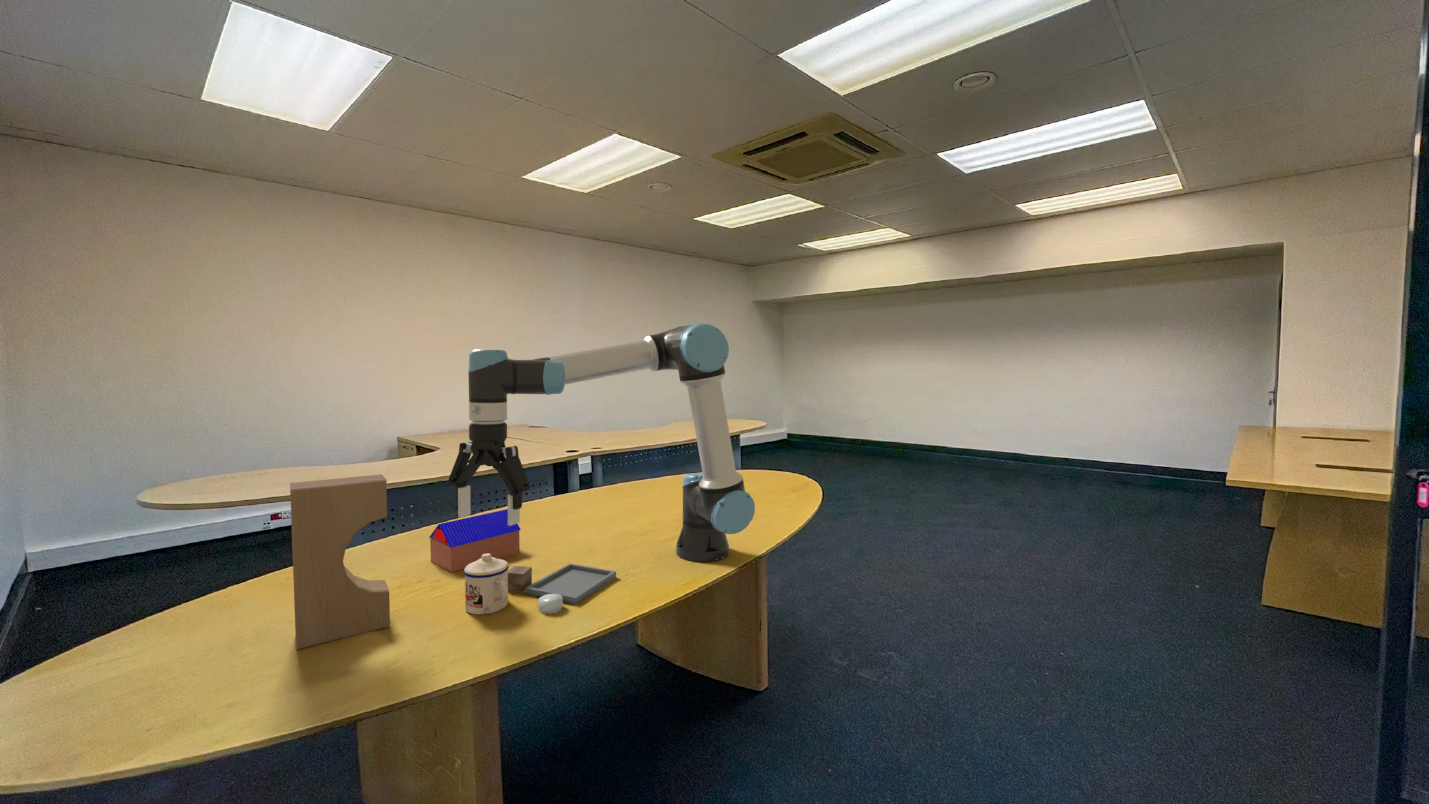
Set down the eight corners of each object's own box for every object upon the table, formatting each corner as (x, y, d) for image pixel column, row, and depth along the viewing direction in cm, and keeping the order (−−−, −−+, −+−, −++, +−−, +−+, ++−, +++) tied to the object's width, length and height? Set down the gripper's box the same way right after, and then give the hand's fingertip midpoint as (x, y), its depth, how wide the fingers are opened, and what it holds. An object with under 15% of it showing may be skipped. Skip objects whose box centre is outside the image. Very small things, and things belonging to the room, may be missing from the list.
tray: (616, 577, 135) (616, 571, 135) (575, 605, 120) (575, 598, 120) (569, 569, 140) (569, 563, 140) (524, 594, 125) (524, 587, 125)
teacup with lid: (456, 607, 117) (455, 555, 117) (494, 594, 125) (494, 544, 124) (486, 624, 110) (485, 568, 109) (525, 608, 117) (524, 556, 117)
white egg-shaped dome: (567, 606, 119) (567, 596, 119) (552, 616, 115) (552, 605, 114) (548, 602, 121) (548, 592, 121) (533, 611, 116) (533, 601, 116)
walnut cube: (531, 585, 130) (531, 566, 130) (523, 592, 126) (523, 573, 126) (514, 583, 131) (513, 565, 131) (504, 591, 126) (504, 572, 126)
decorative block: (296, 650, 99) (290, 490, 97) (295, 634, 105) (290, 482, 103) (390, 627, 108) (386, 480, 106) (385, 613, 114) (381, 473, 112)
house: (521, 552, 153) (520, 512, 152) (450, 573, 137) (450, 528, 136) (498, 543, 160) (497, 505, 159) (428, 562, 144) (428, 519, 144)
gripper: (429, 420, 116) (430, 517, 117) (523, 427, 107) (523, 532, 108) (457, 417, 123) (458, 509, 124) (547, 423, 114) (547, 522, 115)
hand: (488, 520), depth 116 cm, fingers open, 13 cm apart
